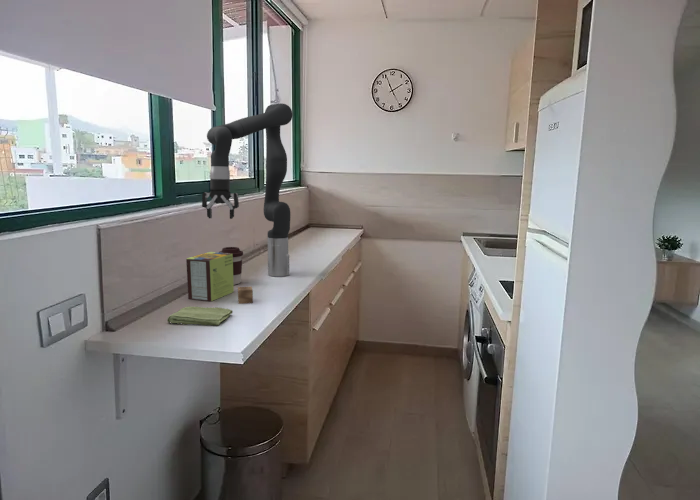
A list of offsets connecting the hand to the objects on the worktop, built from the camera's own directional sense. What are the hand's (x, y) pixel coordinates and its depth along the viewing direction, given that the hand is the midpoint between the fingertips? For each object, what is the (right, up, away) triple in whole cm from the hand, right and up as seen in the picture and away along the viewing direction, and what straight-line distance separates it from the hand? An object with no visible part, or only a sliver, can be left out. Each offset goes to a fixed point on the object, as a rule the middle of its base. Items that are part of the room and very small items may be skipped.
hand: (220, 218), depth 201 cm
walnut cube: (+14, -32, -19) cm, 40 cm away
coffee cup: (+3, -27, +8) cm, 28 cm away
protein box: (-1, -30, -11) cm, 32 cm away
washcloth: (+4, -36, -40) cm, 54 cm away
